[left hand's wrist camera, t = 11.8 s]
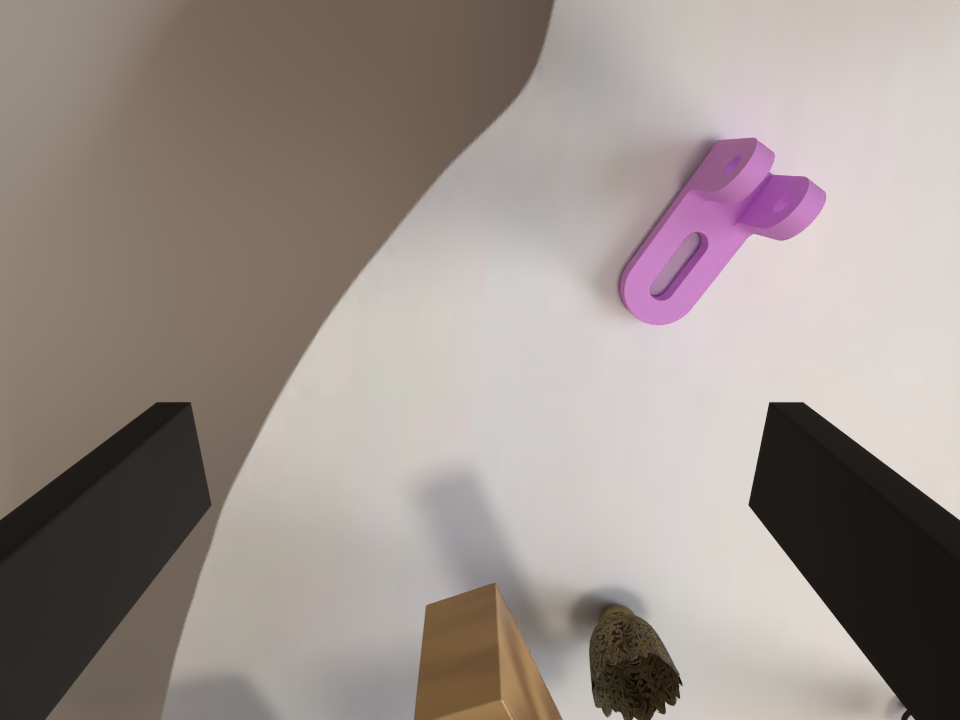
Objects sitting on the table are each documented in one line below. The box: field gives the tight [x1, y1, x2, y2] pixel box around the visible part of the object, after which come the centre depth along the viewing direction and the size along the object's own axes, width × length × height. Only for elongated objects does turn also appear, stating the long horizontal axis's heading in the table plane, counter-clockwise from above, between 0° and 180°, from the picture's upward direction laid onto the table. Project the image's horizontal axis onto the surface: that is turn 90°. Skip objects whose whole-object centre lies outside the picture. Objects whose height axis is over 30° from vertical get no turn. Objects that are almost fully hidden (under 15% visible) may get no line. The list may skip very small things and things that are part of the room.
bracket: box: [620, 138, 826, 325], centre depth 37 cm, size 13×6×7 cm, turn 148°
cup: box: [589, 605, 683, 720], centre depth 49 cm, size 7×7×8 cm
